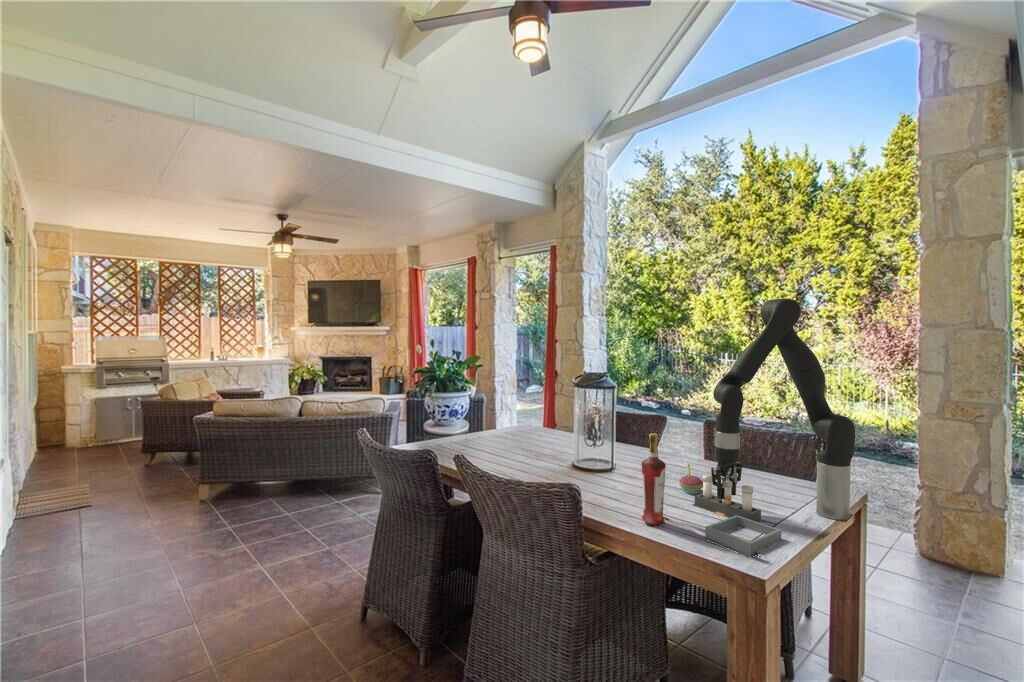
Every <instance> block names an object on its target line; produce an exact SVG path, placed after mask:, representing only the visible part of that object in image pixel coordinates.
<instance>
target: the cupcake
mask: <svg viewBox="0 0 1024 682" xmlns="http://www.w3.org/2000/svg"><path fill="white" fill-rule="evenodd" d="M690 468H691V467H690V463H689V462H687V473H688V475H683V476H682V477H681V478H680V479H679V483H678V484H679V486H680V487H681V489H682V491H683V493H685V494H690V495H698V494H700V491H701V489H703V479H701V478H699V477H697V476H696V475H695V476H694V475H691V469H690Z"/></svg>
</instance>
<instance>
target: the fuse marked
mask: <svg viewBox="0 0 1024 682" xmlns="http://www.w3.org/2000/svg"><path fill="white" fill-rule="evenodd" d="M722 481H723V480H721V484H722ZM724 488H725V498H724V499H722V504H724V505H728V506H730V505H731V501H732V496H733V495H731V488H732V481H730V480H728V481H727V482H726V483H725V487H724Z"/></svg>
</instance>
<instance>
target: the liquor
mask: <svg viewBox="0 0 1024 682" xmlns="http://www.w3.org/2000/svg"><path fill="white" fill-rule="evenodd" d="M648 437H649V452H648V458H645V459H643V461H641V485H642V503H643V504H642V513H643V515H642V516H641V520H643V521H644V523H646V524H647V525H649V524H651V525H650V526H654V525H656V526H659V524H660V525H661V524H662V523H664V522H665V517H664V501H665V500H664V499H665V498H664V497H665V484H666V465H667V464H666V462H664V461H663V460H661V459H660V458H659V452H658V451H659V450H658V447H659V446H658V444H659V443H658V442H659V434H657V433H649V434H648Z"/></svg>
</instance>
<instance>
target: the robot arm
mask: <svg viewBox="0 0 1024 682" xmlns="http://www.w3.org/2000/svg"><path fill="white" fill-rule="evenodd" d="M801 314H802V308H801V306H800V304H799V302H798V301H796V300H794V299H792V298H785V297H784V298H774V299H772V298H771V299H769V300H766V301H765V302H764V303H763V304H762V305H761V309H760V318H761V320H762V323H763V324H764V325H765V327H764V329H763V330H762V331H761V333H760V334H759V335H758V336H757V337H756V338H755V339H754V340H753V341H752V342H751V343H750V344H749V345H748V346H746V347H745V349H744V350H742V352H741V353H740V354H739V356H738V357H737V359H736V360H735V362H734V363H733V365H732V366H731V369H729V371H727V373H726V374H724V376H722V378H721V379H720V380H719V381H718V382H717V384H716V385H715V387H714V389H713V392H712V393H713V399H714V401H716V402H717V403H718V404H720V412H718V413H717V415H716V417H715V434H714V459H715V460H716V461H717V464H716V466H715V467H711V469H710V471H711V476H712V486H715V487H716V496H717V497H718V498H719V499H724V498H725V488H724V487H725V483H726V482H727V481H728V480H730V481H732V488H731V495H732V496H734V497H735V496H736V495H737V485H738V483H739V482H741V479H742V471H743V462H739V461H740V459H741V437H740V436H741V435H740V419H741V415H742V411H743V407H744V393H743V391H742V389H741V388H742V387H743V386H744V385H746V384H749V383H750V382H751V381H752V380H753V379H754V377H755V375H756V374H757V373H758V371H759V369H760V367H761V366H762V365H763V364H764V362H765V360H766V359H767V357H768V356H769V355H770V353H771V352H772V351H773V350H774V348H776V346H777V348H778V351H779V352H780V355H781V357H782V360H783V362H784V363H785V366H786V369H787V371H788V373H789V376H790V377H791V379H792V381H793V383H794V385H795V387H796V389H797V391H798V392H797V393H798V394H799V396H800V399H801V401H802V402H803V405H804V408H805V410H806V413H807V416H808V420H809V423H810V426H811V428H812V430H813V433H814V434H815V435H816V436H817V437H818V438H820V439H822V440H824V441H826V447H825V449H824V450H821V451H819V452H817V457H816V458H817V459H816V460H817V461H816V501H815V502H816V507H815V508H816V509H815V510H816V513H817V514H818V515H820V517H824V518H827V519H832V520H839V521H841V520H844V521H846V520H849V519H850V518H851V517H850V512H851V511H850V509H851V469H852V467H851V465H852V463H851V461H852V459H853V457H854V454H855V445H856V427H855V426H856V425H855V424H854V422H853V420H852V419H851V418H849V417H847V416H844V415H840V414H837V413H835V412H833V411H832V409H831V408H830V405H829V404H828V401H827V398H826V396H825V390H826V389H825V388H826V374H825V372H824V370H823V367H822V365H821V362H820V361H819V359H818V357H817V356H816V354H815V353H814V352H813V351H812V350H811V348H810V347H809V346H808V345H807V344H806V343H805V342H804V341H803V340H802V339H801V338H800V336H799V335H798V334H797V332H796V329H795V328H794V326H795V325H796V324H797V323H798V322H799V320H800V318H801ZM722 480H723V481H722ZM721 483H722V484H721Z"/></svg>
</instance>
